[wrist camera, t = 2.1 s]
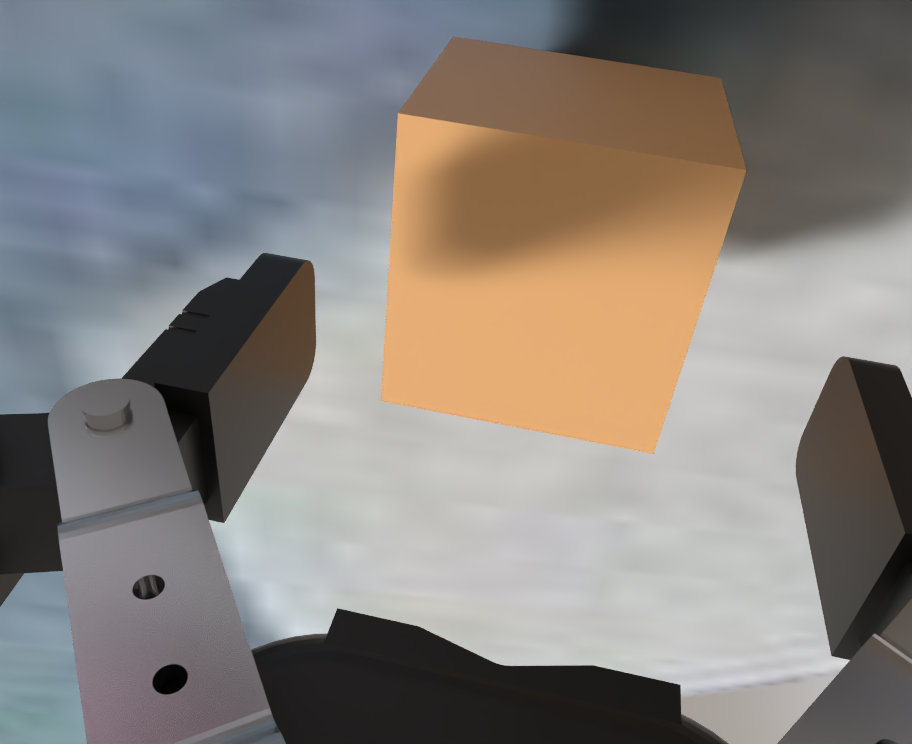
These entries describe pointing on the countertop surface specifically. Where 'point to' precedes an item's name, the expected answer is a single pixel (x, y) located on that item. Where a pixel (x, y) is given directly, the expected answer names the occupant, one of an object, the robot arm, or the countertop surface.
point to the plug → (554, 238)
